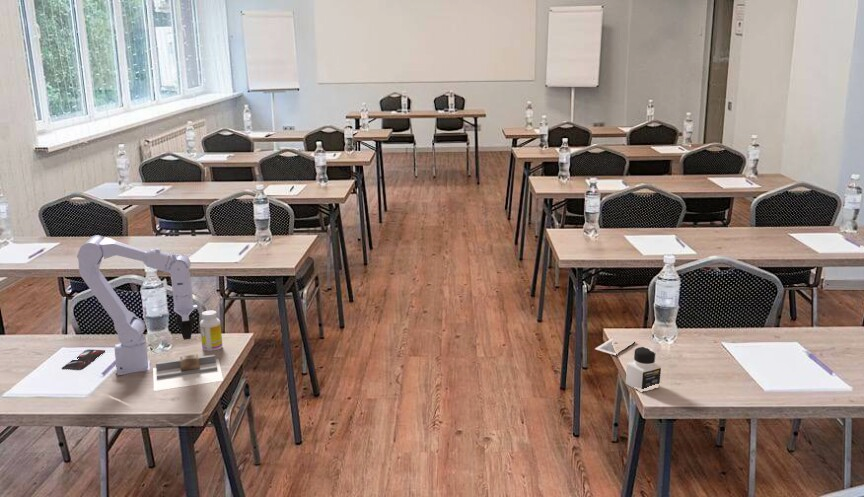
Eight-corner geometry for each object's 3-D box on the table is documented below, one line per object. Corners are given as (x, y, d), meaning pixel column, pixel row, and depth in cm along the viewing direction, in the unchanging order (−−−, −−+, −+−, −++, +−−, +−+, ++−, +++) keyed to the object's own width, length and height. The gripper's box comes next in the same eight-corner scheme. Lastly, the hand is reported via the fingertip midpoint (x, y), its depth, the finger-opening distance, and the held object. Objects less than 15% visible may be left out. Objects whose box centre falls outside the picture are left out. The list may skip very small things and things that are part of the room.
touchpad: (594, 351, 251) (594, 345, 250) (615, 338, 262) (616, 333, 261) (615, 358, 246) (616, 352, 245) (636, 344, 257) (637, 338, 256)
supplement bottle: (225, 344, 256) (222, 309, 252) (218, 352, 250) (215, 316, 246) (206, 343, 257) (203, 308, 253) (199, 351, 250) (195, 315, 247)
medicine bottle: (641, 393, 221) (644, 356, 217) (625, 384, 227) (627, 347, 224) (659, 388, 224) (663, 351, 221) (642, 379, 230) (646, 343, 227)
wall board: (154, 392, 222) (152, 381, 221) (153, 369, 237) (152, 359, 236) (223, 382, 228) (222, 371, 227) (218, 360, 244) (217, 350, 243)
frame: (181, 373, 233) (180, 360, 231) (181, 369, 236) (179, 356, 235) (200, 371, 234) (198, 358, 233) (199, 366, 238) (197, 353, 237)
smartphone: (60, 368, 237) (86, 349, 252) (60, 370, 238) (86, 350, 252) (81, 369, 237) (106, 350, 251) (82, 371, 237) (107, 351, 251)
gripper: (197, 299, 229) (201, 341, 232) (194, 285, 242) (198, 324, 246) (173, 302, 226) (177, 344, 230) (171, 288, 239) (175, 327, 243)
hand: (186, 334), depth 238 cm, fingers open, 7 cm apart
